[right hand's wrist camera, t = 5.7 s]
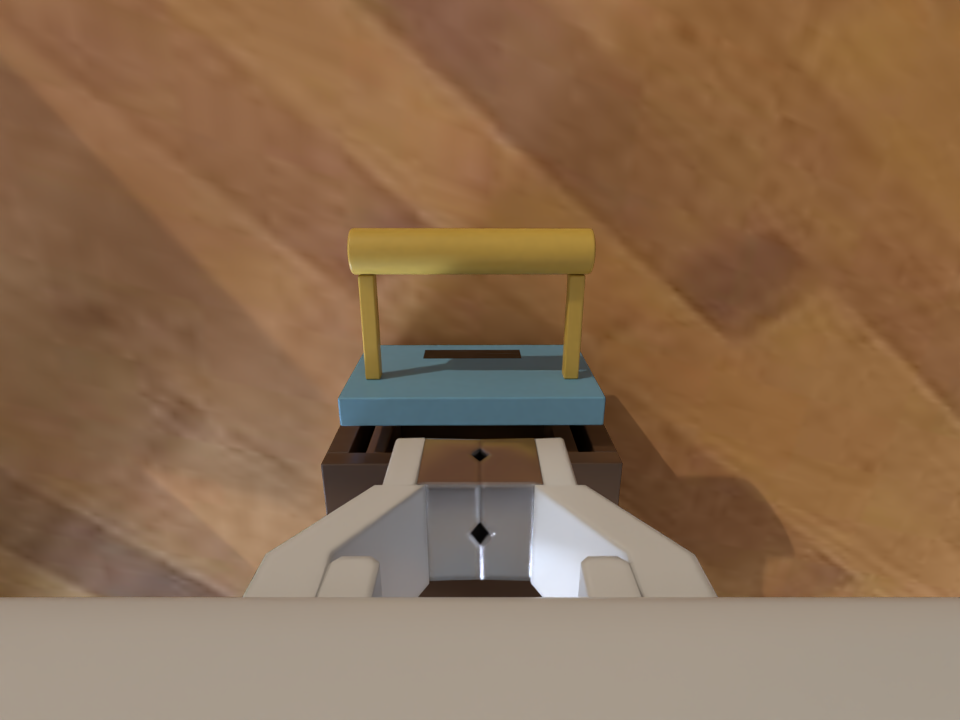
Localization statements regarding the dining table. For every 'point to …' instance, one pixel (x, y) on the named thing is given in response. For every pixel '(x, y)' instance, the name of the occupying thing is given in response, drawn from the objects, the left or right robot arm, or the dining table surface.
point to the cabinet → (359, 471)
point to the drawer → (471, 368)
